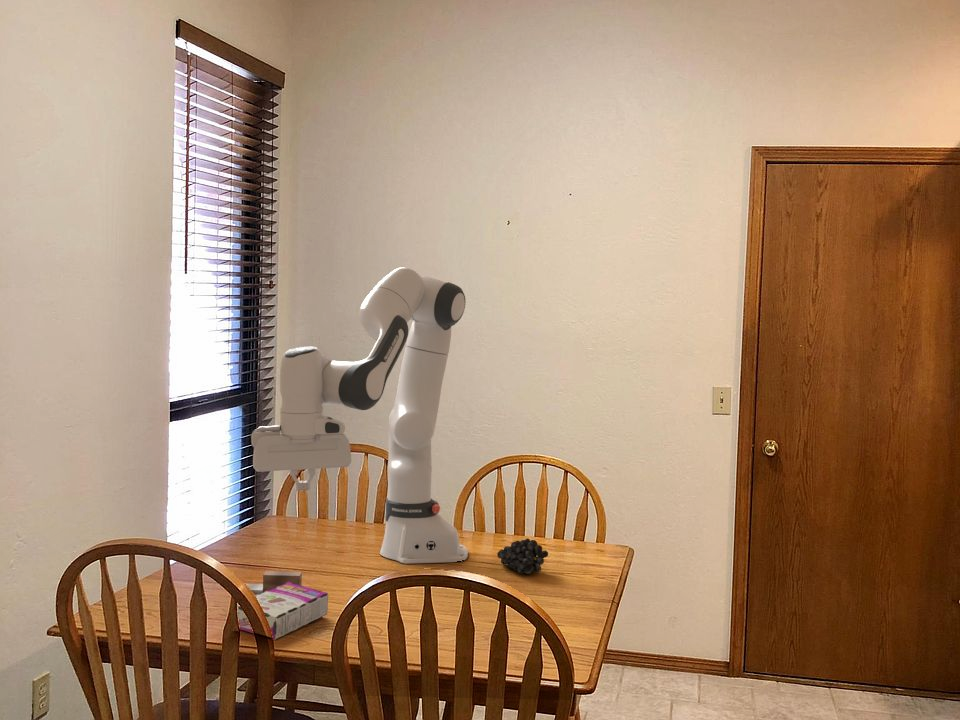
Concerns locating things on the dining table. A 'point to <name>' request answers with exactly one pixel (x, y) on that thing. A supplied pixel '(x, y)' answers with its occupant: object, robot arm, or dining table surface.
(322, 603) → the candy bar box
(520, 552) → the fruit
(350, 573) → the dining table surface
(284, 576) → the block
